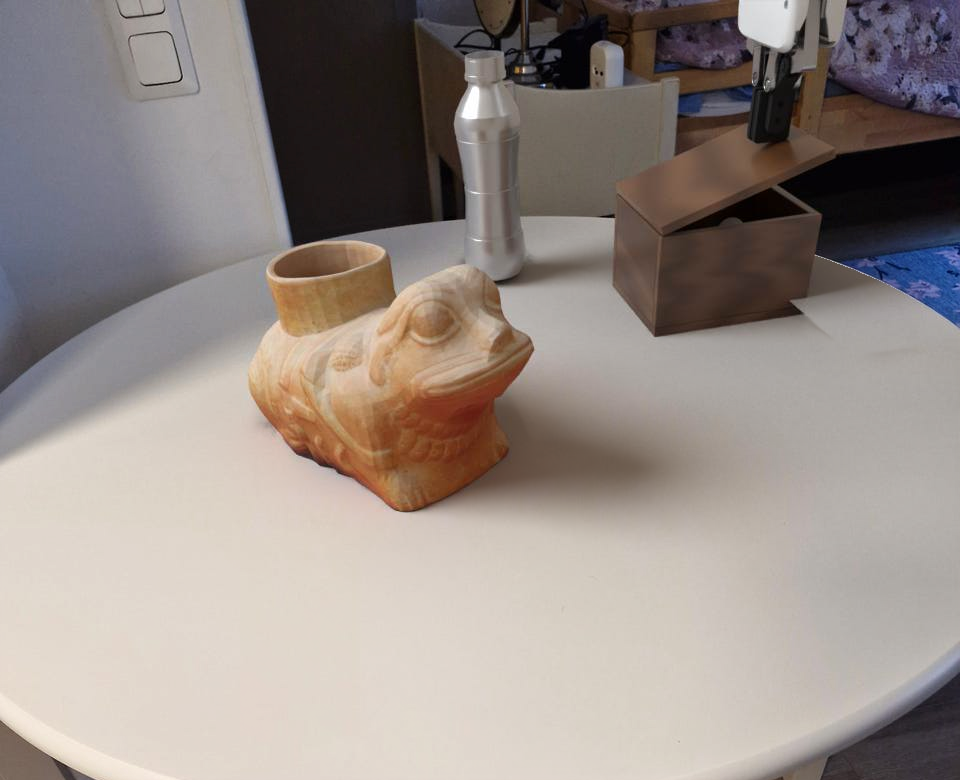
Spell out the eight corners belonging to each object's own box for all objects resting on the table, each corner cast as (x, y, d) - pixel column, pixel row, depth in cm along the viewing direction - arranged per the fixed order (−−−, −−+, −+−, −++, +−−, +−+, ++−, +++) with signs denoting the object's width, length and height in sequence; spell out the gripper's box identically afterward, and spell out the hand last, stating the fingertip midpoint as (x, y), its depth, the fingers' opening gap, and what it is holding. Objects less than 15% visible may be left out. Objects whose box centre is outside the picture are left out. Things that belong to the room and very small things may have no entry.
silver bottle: (537, 269, 95) (533, 48, 82) (506, 292, 91) (496, 64, 78) (485, 260, 98) (473, 45, 84) (453, 283, 94) (434, 61, 80)
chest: (747, 265, 92) (760, 173, 86) (803, 313, 83) (822, 214, 77) (612, 285, 91) (615, 193, 85) (654, 336, 82) (661, 237, 76)
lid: (770, 121, 83) (769, 112, 83) (836, 157, 74) (835, 148, 74) (616, 192, 85) (614, 184, 84) (662, 236, 76) (660, 227, 75)
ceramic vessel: (447, 550, 60) (423, 337, 50) (227, 429, 74) (173, 243, 64) (578, 463, 67) (580, 260, 57) (354, 367, 81) (323, 191, 71)
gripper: (910, -138, 61) (849, 158, 73) (808, -144, 72) (770, 114, 84) (806, -128, 60) (763, 169, 73) (719, -136, 71) (694, 124, 83)
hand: (767, 139), depth 78 cm, fingers closed
